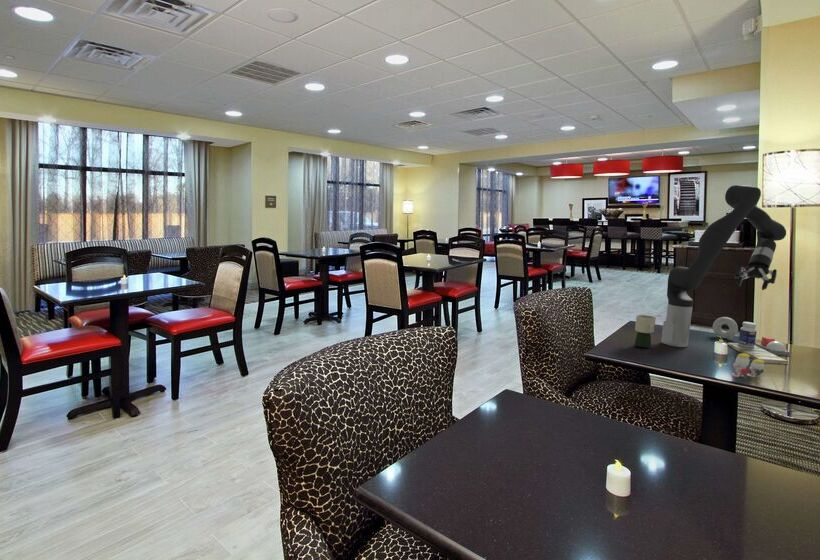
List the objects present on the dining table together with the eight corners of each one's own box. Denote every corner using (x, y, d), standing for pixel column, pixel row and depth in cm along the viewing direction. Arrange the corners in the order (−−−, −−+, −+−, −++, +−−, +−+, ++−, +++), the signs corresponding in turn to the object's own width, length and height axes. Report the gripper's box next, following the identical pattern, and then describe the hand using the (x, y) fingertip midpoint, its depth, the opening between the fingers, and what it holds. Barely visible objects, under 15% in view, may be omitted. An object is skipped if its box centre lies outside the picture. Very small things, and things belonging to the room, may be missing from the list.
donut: (737, 340, 216) (740, 319, 215) (734, 341, 214) (738, 319, 213) (712, 335, 224) (715, 314, 222) (709, 336, 222) (713, 315, 220)
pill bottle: (749, 348, 199) (753, 325, 198) (734, 344, 204) (738, 321, 203) (757, 347, 202) (760, 323, 200) (742, 343, 207) (746, 320, 205)
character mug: (657, 351, 194) (661, 320, 192) (640, 350, 194) (643, 319, 192) (644, 343, 205) (648, 313, 203) (627, 343, 205) (631, 313, 203)
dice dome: (789, 359, 196) (791, 344, 195) (770, 358, 196) (773, 343, 195) (770, 350, 207) (772, 336, 206) (753, 349, 208) (755, 335, 207)
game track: (787, 364, 184) (788, 360, 184) (759, 362, 185) (760, 359, 185) (752, 346, 207) (752, 344, 206) (727, 345, 208) (727, 342, 207)
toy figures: (755, 374, 171) (759, 351, 170) (766, 378, 167) (770, 355, 165) (725, 374, 169) (728, 351, 168) (735, 378, 165) (738, 355, 164)
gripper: (741, 251, 213) (730, 278, 207) (781, 255, 203) (771, 284, 197) (742, 263, 217) (731, 289, 211) (781, 267, 207) (771, 295, 201)
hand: (750, 287), depth 204 cm, fingers open, 8 cm apart
